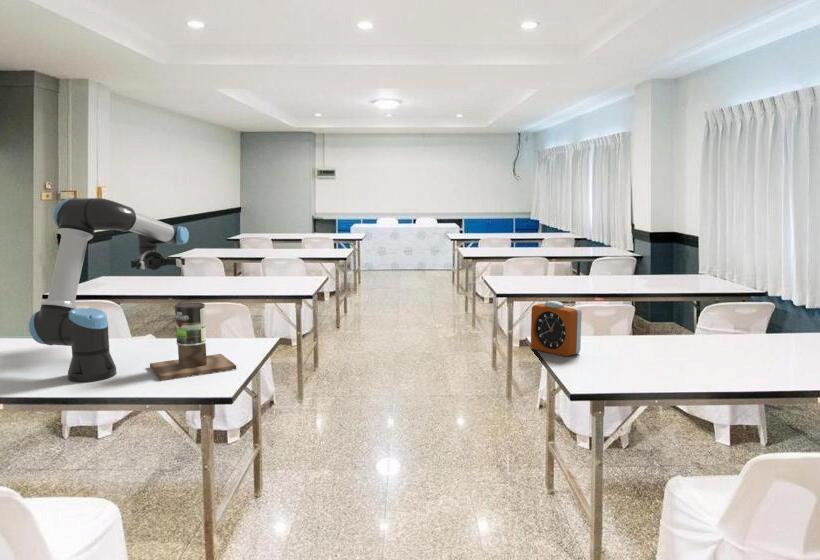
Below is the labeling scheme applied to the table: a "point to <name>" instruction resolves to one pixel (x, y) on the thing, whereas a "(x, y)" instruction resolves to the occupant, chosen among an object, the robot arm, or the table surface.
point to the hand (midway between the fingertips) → (162, 264)
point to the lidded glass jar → (190, 324)
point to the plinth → (180, 372)
